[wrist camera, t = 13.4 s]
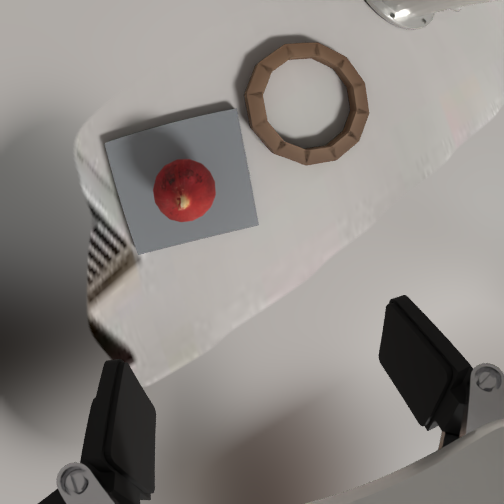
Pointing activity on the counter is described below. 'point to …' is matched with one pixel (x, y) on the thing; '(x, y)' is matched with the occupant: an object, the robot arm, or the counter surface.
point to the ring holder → (345, 73)
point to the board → (183, 147)
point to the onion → (184, 190)
